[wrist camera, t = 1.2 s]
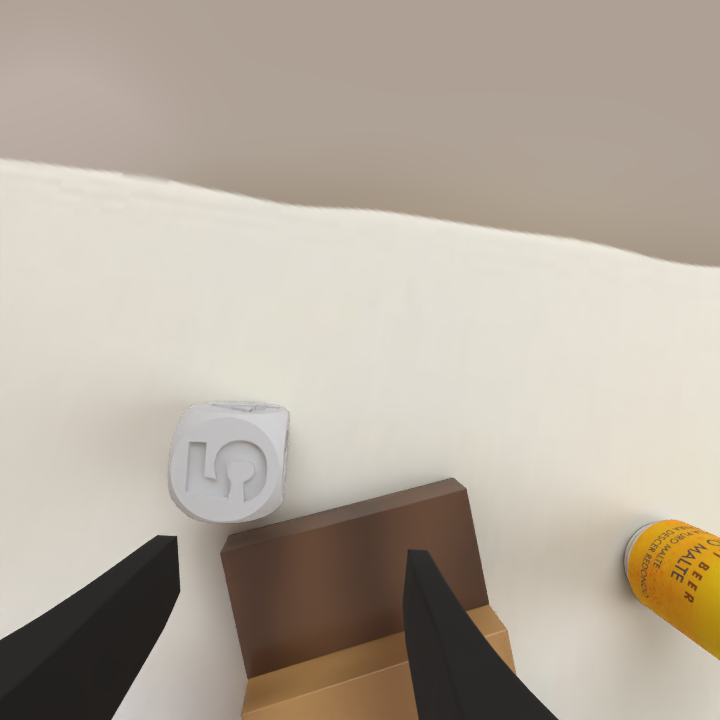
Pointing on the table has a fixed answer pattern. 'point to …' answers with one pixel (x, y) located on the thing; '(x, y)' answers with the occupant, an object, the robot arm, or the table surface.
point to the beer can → (678, 578)
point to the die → (229, 461)
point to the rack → (348, 603)
